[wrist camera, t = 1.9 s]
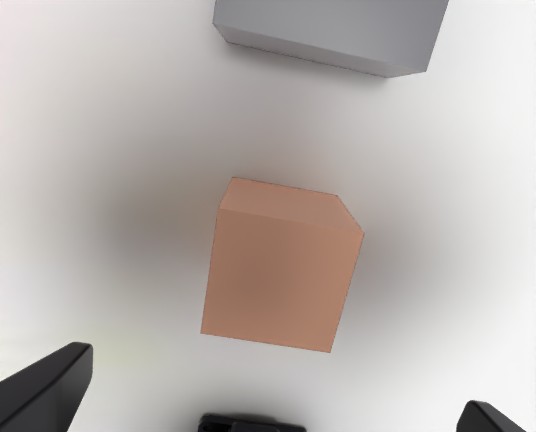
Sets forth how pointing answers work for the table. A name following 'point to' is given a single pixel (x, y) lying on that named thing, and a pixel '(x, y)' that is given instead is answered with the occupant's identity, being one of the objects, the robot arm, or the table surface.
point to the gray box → (338, 31)
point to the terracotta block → (280, 265)
